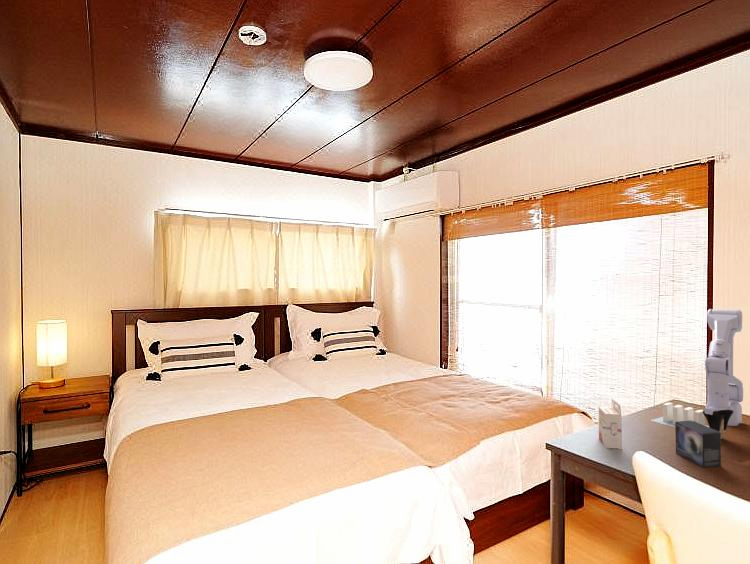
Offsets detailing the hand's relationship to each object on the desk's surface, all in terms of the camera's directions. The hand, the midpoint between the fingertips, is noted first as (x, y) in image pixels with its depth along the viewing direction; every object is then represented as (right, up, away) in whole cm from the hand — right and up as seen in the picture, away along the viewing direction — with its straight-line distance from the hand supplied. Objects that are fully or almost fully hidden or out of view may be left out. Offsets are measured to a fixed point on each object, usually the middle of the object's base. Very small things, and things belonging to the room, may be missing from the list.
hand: (718, 431), depth 143 cm
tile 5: (-4, -3, +19) cm, 20 cm away
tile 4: (-2, -3, +16) cm, 16 cm away
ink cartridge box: (-38, -4, -1) cm, 38 cm away
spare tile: (0, -2, 0) cm, 2 cm away
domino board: (-1, -3, +13) cm, 14 cm away
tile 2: (+1, -3, +10) cm, 10 cm away
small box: (-18, -4, -14) cm, 23 cm away
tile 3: (-1, -3, +13) cm, 13 cm away
